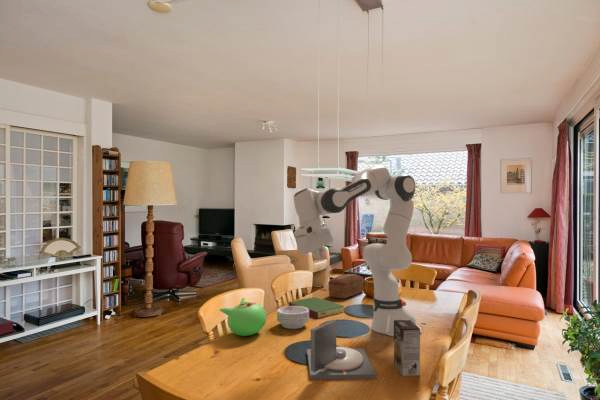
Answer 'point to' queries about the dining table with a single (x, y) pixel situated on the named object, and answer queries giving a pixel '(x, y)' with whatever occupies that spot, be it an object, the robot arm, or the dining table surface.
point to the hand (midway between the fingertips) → (320, 259)
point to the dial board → (358, 373)
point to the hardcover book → (318, 307)
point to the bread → (345, 286)
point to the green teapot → (245, 318)
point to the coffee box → (407, 347)
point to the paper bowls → (293, 316)
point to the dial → (331, 350)
